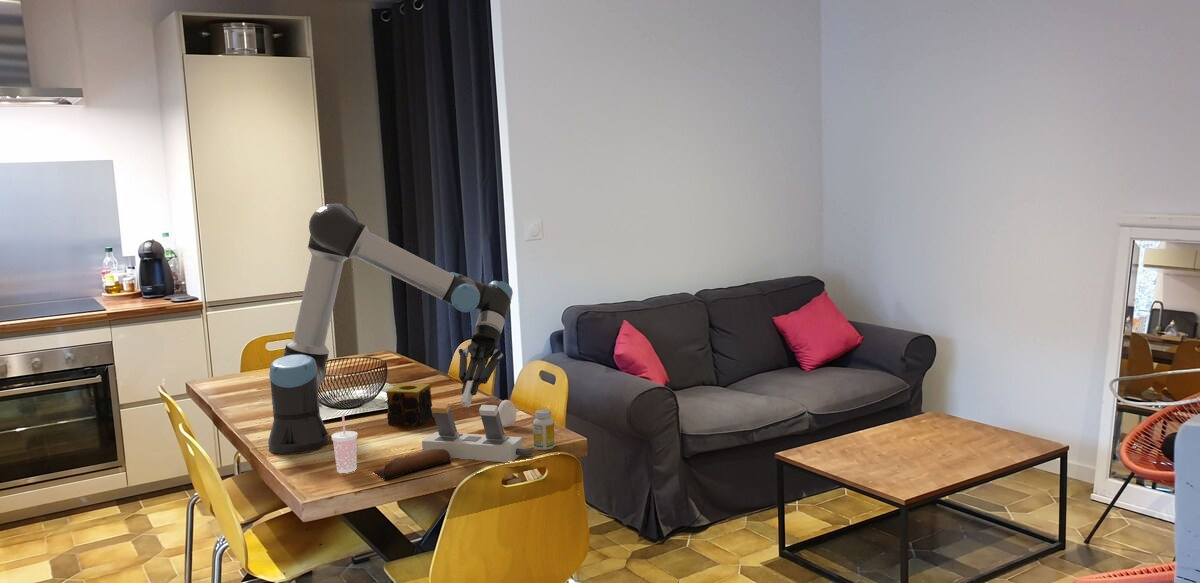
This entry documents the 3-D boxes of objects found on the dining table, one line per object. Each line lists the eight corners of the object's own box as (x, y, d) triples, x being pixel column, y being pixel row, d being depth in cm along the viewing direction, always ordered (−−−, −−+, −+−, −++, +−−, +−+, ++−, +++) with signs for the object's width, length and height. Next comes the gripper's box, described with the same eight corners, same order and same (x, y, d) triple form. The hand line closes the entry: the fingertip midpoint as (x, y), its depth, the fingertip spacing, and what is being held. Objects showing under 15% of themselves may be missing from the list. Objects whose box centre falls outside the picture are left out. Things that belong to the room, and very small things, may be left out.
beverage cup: (330, 469, 220) (326, 413, 218) (355, 464, 224) (351, 409, 222) (337, 476, 215) (333, 419, 213) (363, 471, 218) (359, 415, 216)
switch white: (488, 435, 228) (479, 404, 223) (507, 436, 227) (499, 405, 222) (485, 440, 227) (476, 410, 221) (504, 442, 225) (496, 411, 220)
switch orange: (441, 432, 232) (431, 402, 227) (460, 433, 231) (450, 403, 225) (438, 437, 230) (428, 407, 225) (456, 438, 229) (447, 408, 224)
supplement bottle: (534, 450, 231) (532, 414, 229) (533, 444, 236) (532, 408, 234) (555, 449, 231) (553, 413, 230) (554, 443, 236) (552, 407, 235)
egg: (509, 430, 249) (507, 403, 248) (493, 427, 252) (492, 401, 251) (520, 425, 253) (519, 398, 252) (505, 423, 256) (504, 396, 255)
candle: (420, 426, 255) (418, 392, 254) (387, 425, 257) (384, 391, 256) (433, 416, 265) (432, 383, 264) (401, 415, 267) (399, 382, 266)
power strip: (422, 456, 229) (421, 440, 228) (437, 446, 236) (436, 431, 236) (526, 463, 221) (525, 447, 220) (537, 453, 228) (537, 437, 228)
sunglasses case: (433, 455, 229) (439, 436, 225) (447, 474, 225) (453, 455, 221) (368, 473, 217) (373, 453, 214) (381, 493, 213) (387, 473, 210)
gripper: (513, 339, 254) (492, 412, 240) (471, 337, 257) (447, 410, 244) (505, 323, 248) (483, 398, 234) (462, 322, 252) (437, 396, 238)
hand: (465, 404), depth 239 cm, fingers closed
